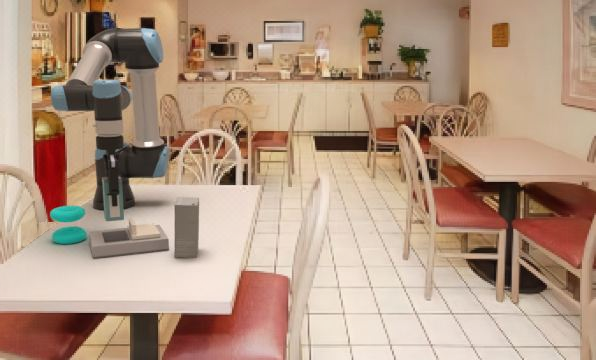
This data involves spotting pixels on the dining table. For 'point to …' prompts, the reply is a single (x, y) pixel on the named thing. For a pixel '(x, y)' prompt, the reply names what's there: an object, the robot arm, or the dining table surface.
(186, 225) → the skincare box
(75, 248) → the dining table surface
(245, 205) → the dining table surface
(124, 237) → the socket plate
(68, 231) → the donuts
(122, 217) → the green rectangular box
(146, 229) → the shutter
